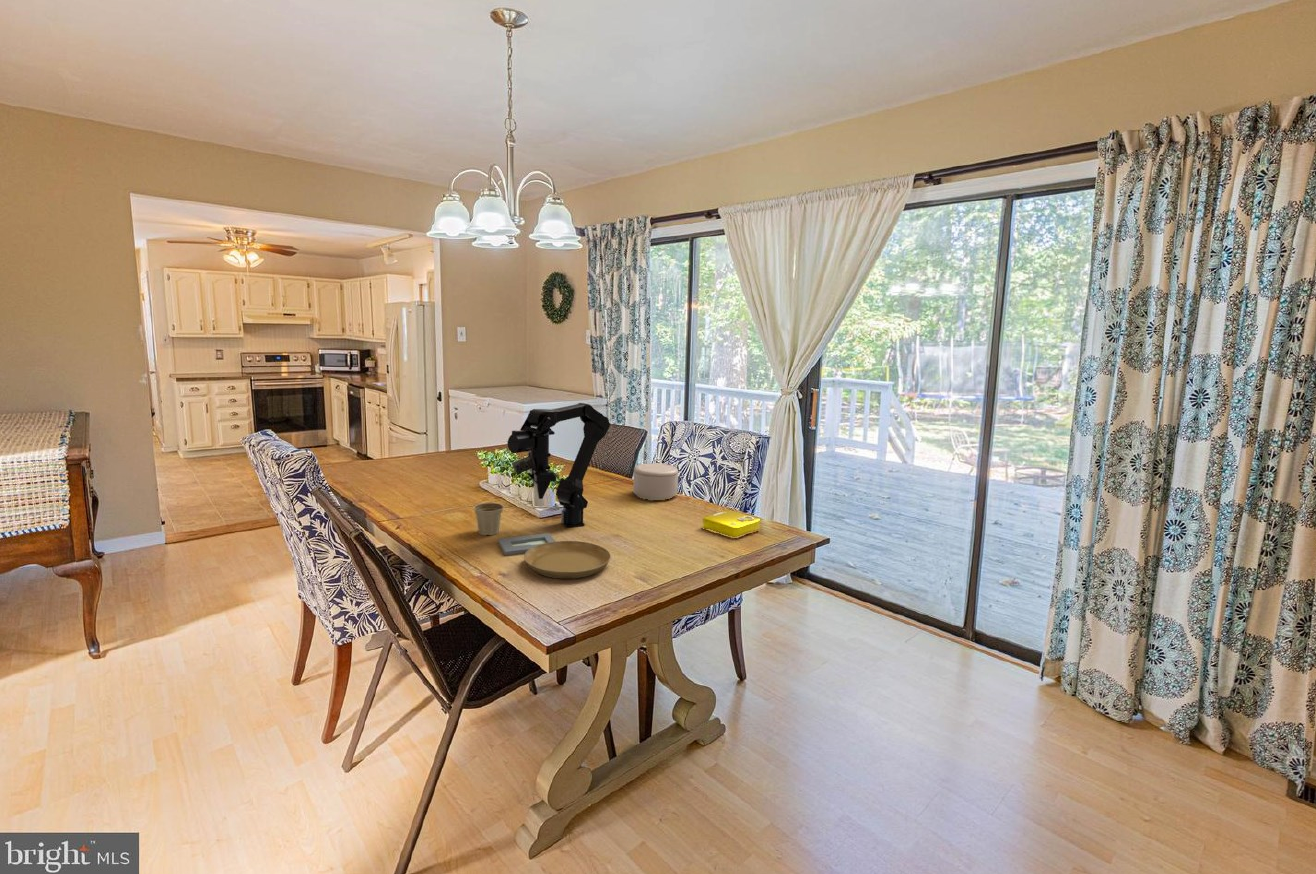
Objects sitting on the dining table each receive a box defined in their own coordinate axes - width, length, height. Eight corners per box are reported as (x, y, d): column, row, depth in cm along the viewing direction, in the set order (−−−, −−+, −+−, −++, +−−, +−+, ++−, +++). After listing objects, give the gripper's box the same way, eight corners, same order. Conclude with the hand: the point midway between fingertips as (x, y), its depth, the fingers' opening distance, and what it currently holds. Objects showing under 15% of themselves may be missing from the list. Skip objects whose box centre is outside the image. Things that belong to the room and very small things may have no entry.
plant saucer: (620, 556, 184) (621, 545, 183) (594, 588, 161) (594, 576, 160) (545, 547, 189) (545, 536, 189) (508, 576, 166) (508, 565, 165)
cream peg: (542, 503, 200) (543, 477, 199) (545, 505, 198) (545, 479, 196) (533, 504, 199) (533, 478, 198) (535, 506, 196) (535, 480, 195)
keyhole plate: (548, 536, 197) (548, 533, 197) (559, 549, 187) (559, 545, 186) (497, 542, 191) (497, 538, 191) (505, 555, 180) (505, 551, 180)
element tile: (727, 520, 222) (728, 508, 221) (761, 531, 212) (762, 517, 211) (699, 529, 212) (700, 515, 211) (734, 540, 201) (735, 526, 200)
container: (637, 502, 240) (637, 472, 238) (629, 490, 257) (630, 462, 255) (682, 501, 244) (683, 472, 242) (671, 489, 261) (673, 462, 259)
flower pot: (495, 538, 194) (495, 512, 192) (468, 535, 196) (467, 509, 194) (508, 529, 203) (508, 504, 201) (482, 526, 205) (482, 501, 203)
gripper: (508, 445, 200) (508, 491, 203) (520, 456, 184) (520, 507, 186) (542, 443, 205) (541, 489, 208) (557, 454, 188) (556, 504, 191)
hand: (539, 497), depth 198 cm, fingers closed on cream peg, 3 cm apart
